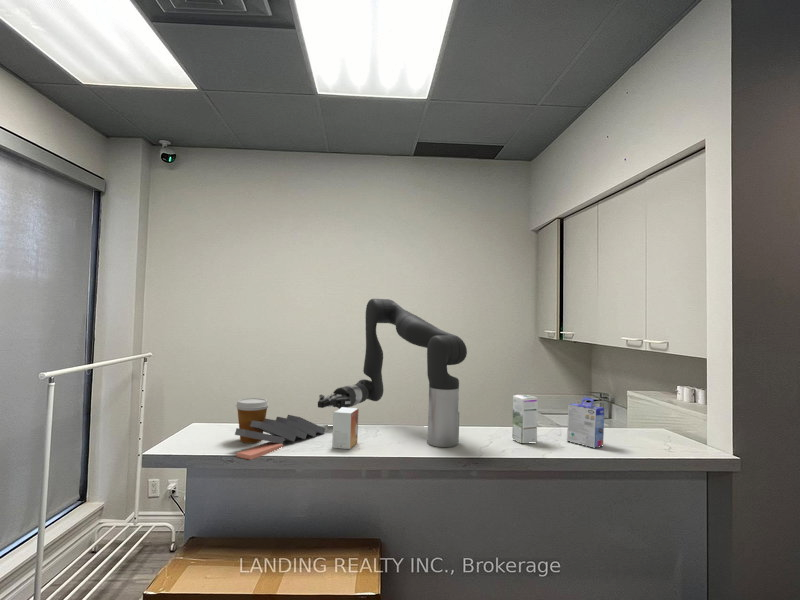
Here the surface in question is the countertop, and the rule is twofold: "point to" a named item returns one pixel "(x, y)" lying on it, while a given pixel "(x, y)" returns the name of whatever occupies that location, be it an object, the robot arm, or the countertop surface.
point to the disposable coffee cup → (251, 415)
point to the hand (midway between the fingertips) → (319, 404)
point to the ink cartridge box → (585, 423)
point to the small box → (345, 428)
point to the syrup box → (524, 418)
